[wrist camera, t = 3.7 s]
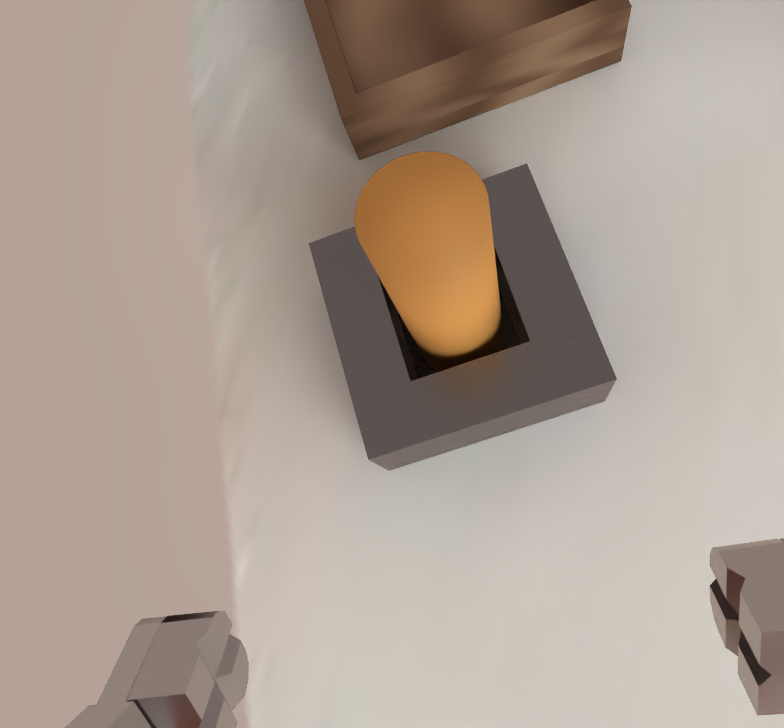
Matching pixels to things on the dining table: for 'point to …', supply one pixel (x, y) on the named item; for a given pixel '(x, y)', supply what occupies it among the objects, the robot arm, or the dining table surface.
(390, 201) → the pin
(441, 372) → the bracket
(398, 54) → the walnut tray
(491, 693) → the dining table surface
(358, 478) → the dining table surface
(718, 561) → the robot arm
